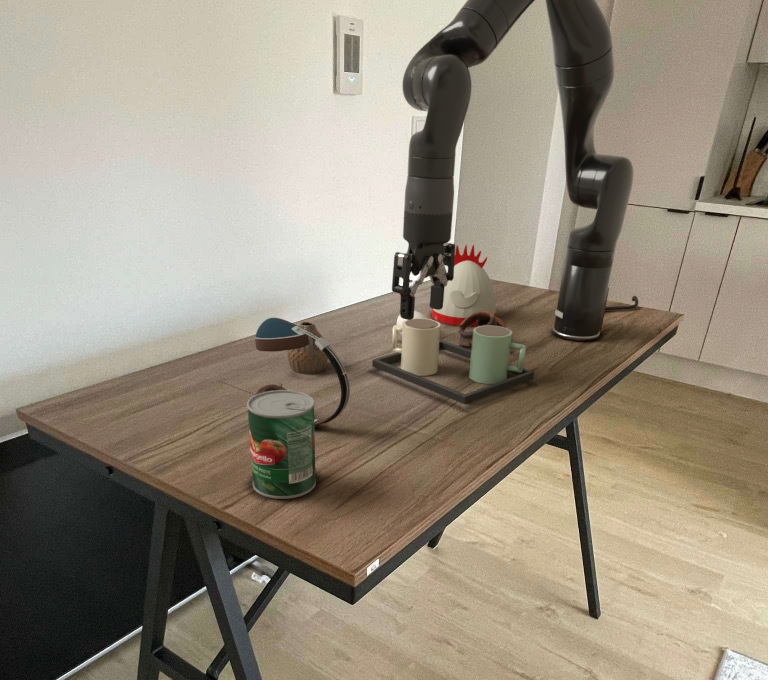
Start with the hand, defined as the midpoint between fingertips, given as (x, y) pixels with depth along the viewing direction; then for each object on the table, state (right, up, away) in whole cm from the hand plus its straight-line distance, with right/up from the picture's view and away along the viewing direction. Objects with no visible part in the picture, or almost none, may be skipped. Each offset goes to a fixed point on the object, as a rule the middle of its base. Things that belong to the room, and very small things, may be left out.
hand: (421, 313), depth 117 cm
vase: (-19, -9, +5) cm, 22 cm away
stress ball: (0, +1, +23) cm, 23 cm away
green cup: (+13, -10, +2) cm, 16 cm away
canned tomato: (-19, -30, -28) cm, 45 cm away
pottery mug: (+13, -1, +20) cm, 24 cm away
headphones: (-22, -19, -12) cm, 31 cm away
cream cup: (-1, -8, +6) cm, 10 cm away
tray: (+5, -10, +5) cm, 12 cm away
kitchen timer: (+11, +10, +38) cm, 40 cm away
